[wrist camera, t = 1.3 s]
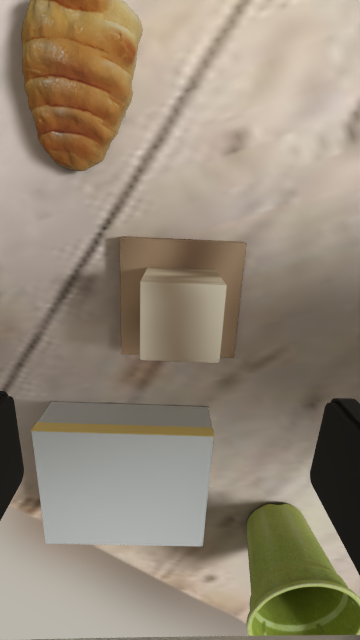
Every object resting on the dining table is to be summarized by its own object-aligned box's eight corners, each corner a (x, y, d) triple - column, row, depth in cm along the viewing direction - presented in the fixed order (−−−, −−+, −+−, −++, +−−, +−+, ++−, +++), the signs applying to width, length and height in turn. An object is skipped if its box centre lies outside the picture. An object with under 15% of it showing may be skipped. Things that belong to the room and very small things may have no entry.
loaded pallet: (242, 241, 24) (265, 251, 18) (230, 350, 26) (247, 391, 20) (122, 236, 23) (104, 244, 17) (124, 346, 26) (108, 386, 20)
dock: (209, 406, 28) (214, 436, 24) (200, 507, 32) (203, 546, 28) (50, 401, 28) (30, 430, 24) (60, 503, 32) (45, 543, 28)
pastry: (124, 182, 22) (113, 176, 19) (28, 160, 22) (-2, 149, 18) (147, 20, 19) (139, -24, 16) (36, -9, 19) (3, -62, 15)
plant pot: (211, 526, 33) (222, 630, 25) (276, 473, 31) (313, 568, 23) (271, 566, 35) (300, 674, 27) (337, 519, 33) (391, 621, 25)
